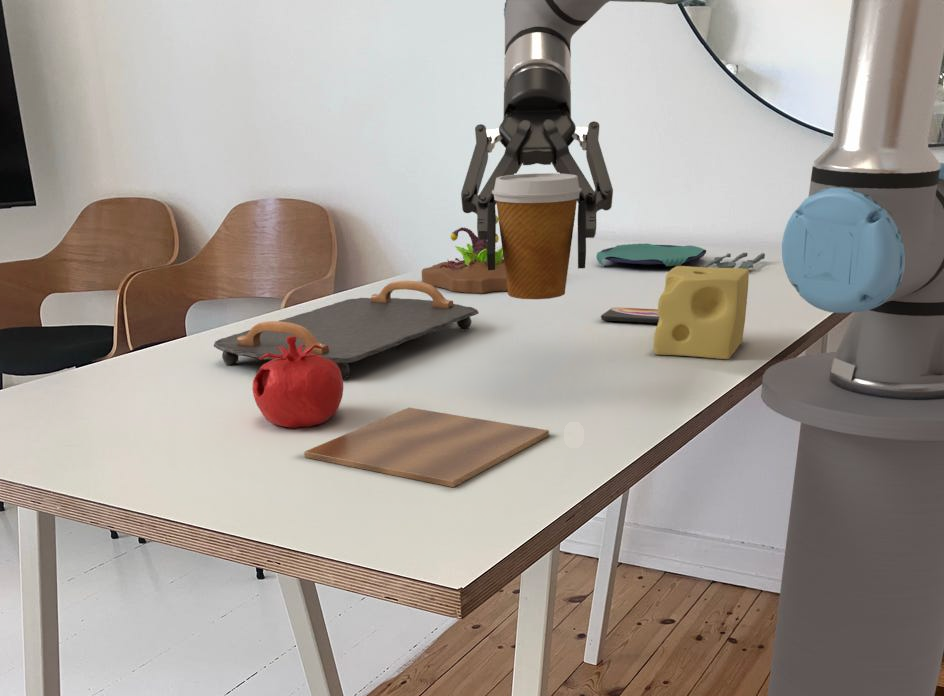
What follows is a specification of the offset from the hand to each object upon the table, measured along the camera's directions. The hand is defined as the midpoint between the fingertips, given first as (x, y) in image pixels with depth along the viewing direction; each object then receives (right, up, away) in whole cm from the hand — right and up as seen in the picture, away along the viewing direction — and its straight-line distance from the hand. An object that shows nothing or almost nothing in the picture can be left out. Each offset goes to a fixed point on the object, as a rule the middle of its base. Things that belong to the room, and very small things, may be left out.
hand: (536, 261), depth 116 cm
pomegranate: (-26, -16, +5) cm, 31 cm away
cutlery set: (+32, +30, +90) cm, 100 cm away
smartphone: (+21, +7, +47) cm, 52 cm away
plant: (-4, +23, +78) cm, 82 cm away
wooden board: (-11, -20, -4) cm, 24 cm away
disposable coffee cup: (0, -2, +5) cm, 5 cm away
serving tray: (-23, +1, +37) cm, 43 cm away
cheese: (+24, -2, +30) cm, 38 cm away
